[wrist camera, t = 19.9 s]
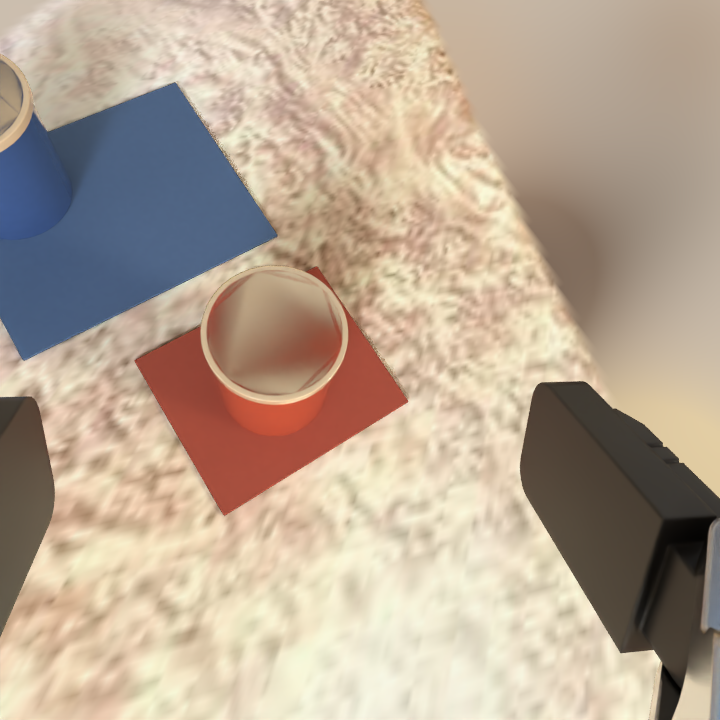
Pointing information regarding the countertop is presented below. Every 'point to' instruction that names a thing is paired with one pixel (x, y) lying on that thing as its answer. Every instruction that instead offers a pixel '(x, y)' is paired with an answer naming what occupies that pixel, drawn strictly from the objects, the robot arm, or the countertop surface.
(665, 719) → the robot arm
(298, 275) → the red tapered cylinder
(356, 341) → the rust mat
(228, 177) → the blue mat
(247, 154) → the countertop surface
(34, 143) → the blue crock
